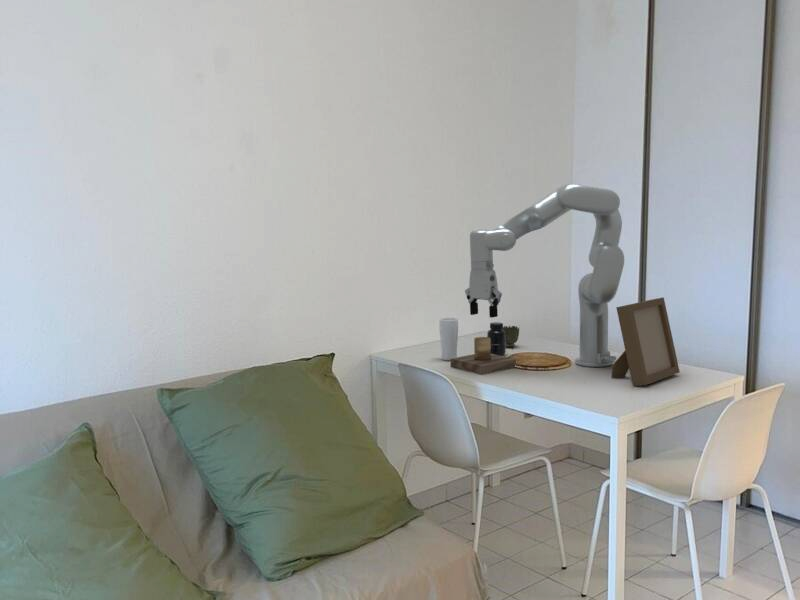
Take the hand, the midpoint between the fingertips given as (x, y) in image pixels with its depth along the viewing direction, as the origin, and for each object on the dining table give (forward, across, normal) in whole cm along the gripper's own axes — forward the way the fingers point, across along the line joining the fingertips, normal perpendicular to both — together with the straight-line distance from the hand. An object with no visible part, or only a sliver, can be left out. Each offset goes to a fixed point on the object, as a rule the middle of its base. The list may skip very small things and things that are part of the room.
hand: (483, 315), depth 262 cm
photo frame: (+20, -46, -25) cm, 56 cm away
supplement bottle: (+18, +12, -17) cm, 28 cm away
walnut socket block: (+18, 0, +1) cm, 18 cm away
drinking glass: (+18, +18, +1) cm, 26 cm away
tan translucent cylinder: (+18, +1, +1) cm, 18 cm away
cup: (+19, +20, -31) cm, 41 cm away
